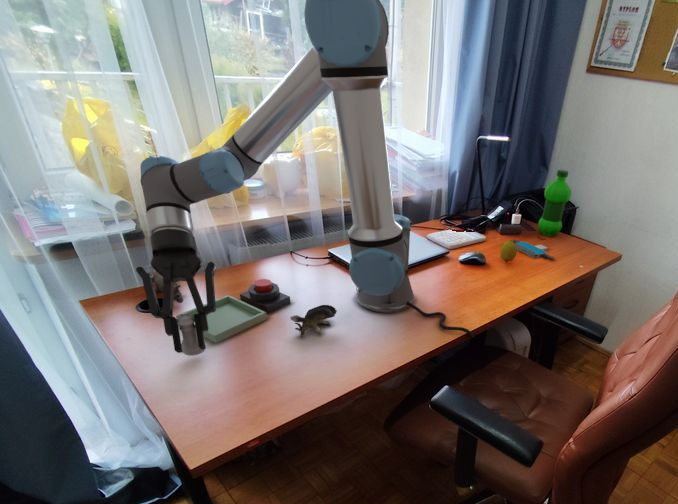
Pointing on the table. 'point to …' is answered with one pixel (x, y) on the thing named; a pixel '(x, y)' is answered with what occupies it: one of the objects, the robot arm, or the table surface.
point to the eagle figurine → (314, 318)
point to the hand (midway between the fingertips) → (190, 349)
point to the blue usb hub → (532, 250)
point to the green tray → (229, 318)
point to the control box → (265, 299)
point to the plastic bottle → (554, 204)
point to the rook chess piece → (189, 335)
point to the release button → (263, 285)
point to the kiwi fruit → (508, 251)
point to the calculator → (455, 238)
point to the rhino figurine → (159, 285)
